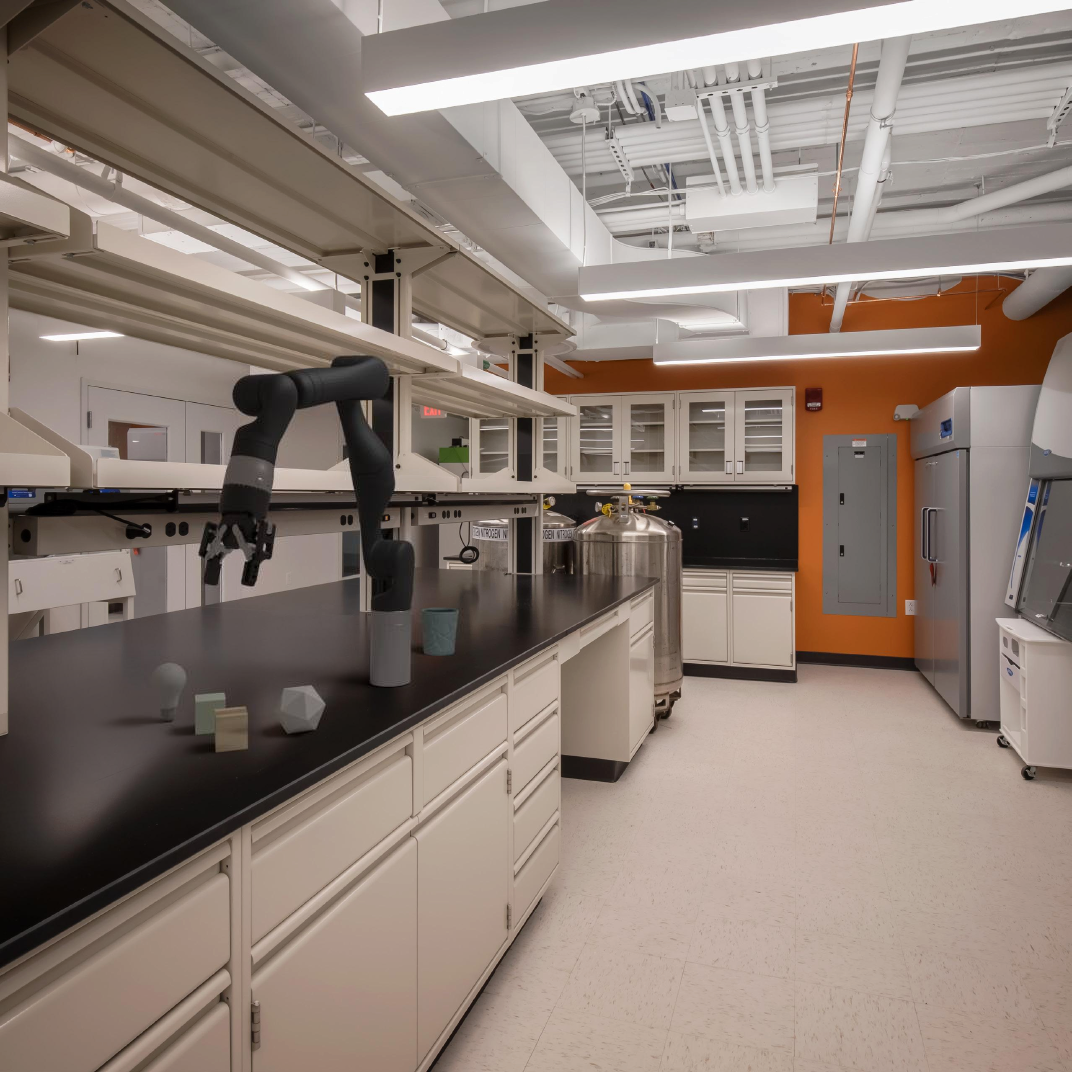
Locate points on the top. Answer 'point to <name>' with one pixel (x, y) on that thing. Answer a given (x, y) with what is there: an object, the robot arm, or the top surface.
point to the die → (299, 709)
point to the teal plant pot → (439, 630)
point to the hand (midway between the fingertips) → (228, 585)
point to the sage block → (207, 711)
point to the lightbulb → (168, 687)
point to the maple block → (231, 729)
